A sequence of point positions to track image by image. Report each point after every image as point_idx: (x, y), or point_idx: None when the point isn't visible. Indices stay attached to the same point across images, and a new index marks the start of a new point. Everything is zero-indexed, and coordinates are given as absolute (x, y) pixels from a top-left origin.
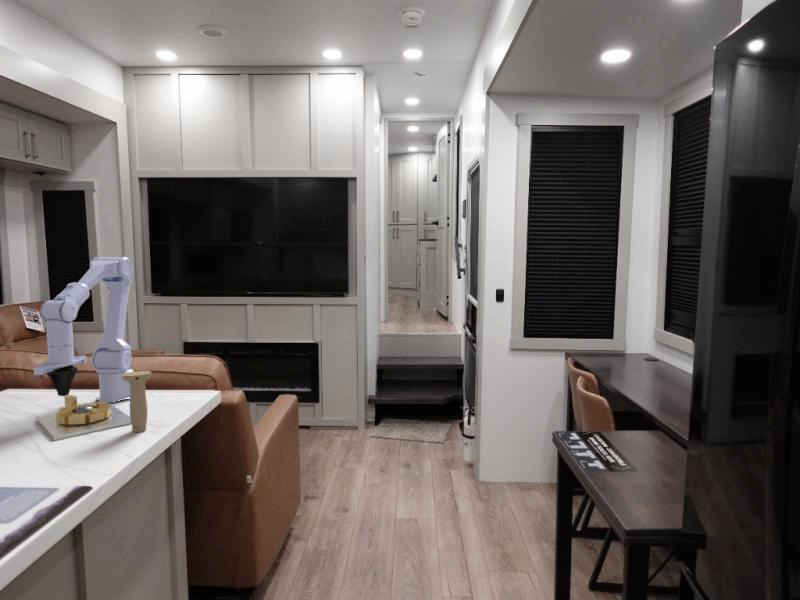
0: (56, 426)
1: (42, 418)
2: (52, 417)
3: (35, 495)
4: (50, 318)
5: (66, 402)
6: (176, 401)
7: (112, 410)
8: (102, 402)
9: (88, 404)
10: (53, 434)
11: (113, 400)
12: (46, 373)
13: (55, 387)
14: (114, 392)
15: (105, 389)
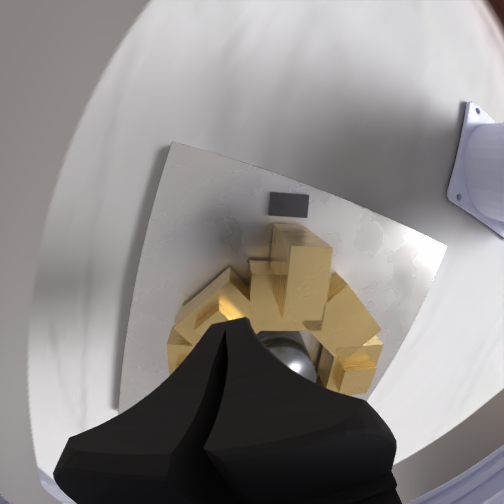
0: (156, 353)
1: (176, 191)
2: (208, 220)
3: (65, 496)
4: None
5: (282, 256)
6: (490, 360)
7: (383, 344)
8: (357, 386)
9: (344, 320)
10: (122, 404)
11: (475, 206)
12: (67, 443)
13: (188, 355)
14: (500, 216)
15: (501, 188)
